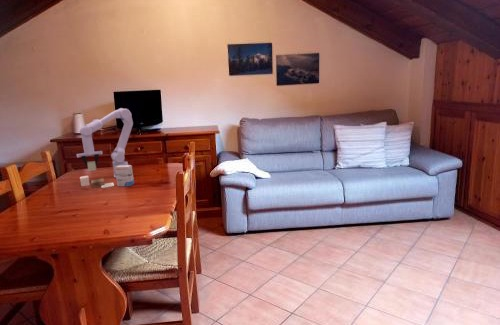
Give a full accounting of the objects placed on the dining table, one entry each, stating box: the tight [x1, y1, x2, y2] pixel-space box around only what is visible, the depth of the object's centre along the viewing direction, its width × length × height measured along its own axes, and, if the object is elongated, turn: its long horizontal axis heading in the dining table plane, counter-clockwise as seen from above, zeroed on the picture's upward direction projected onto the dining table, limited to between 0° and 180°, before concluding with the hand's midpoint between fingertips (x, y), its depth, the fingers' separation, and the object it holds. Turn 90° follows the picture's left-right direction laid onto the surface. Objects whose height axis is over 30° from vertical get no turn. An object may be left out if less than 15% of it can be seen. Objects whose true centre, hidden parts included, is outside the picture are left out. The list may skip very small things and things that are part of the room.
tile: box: [100, 182, 115, 189], centre depth 204 cm, size 7×7×1 cm
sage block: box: [87, 160, 97, 172], centre depth 214 cm, size 4×4×5 cm
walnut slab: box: [90, 178, 106, 189], centre depth 205 cm, size 7×7×3 cm
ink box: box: [115, 164, 135, 187], centre depth 202 cm, size 8×5×12 cm, turn 84°
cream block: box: [79, 175, 91, 187], centre depth 208 cm, size 4×4×5 cm
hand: (91, 167), depth 214 cm, fingers closed on sage block, 4 cm apart
